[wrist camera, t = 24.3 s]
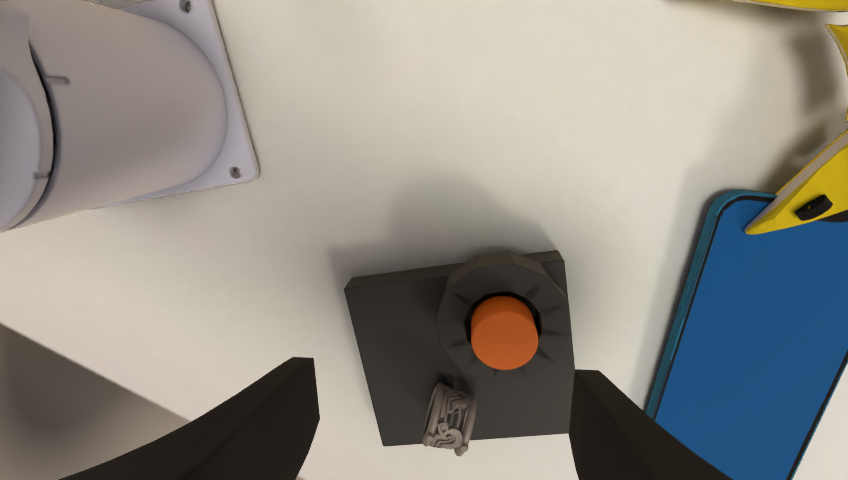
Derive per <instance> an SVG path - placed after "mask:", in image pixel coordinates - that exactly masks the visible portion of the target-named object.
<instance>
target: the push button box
mask: <svg viewBox="0 0 848 480" xmlns="http://www.w3.org/2000/svg"><path fill="white" fill-rule="evenodd" d="M344 292H345V296H346V300H347V304H348V308H349V312H350V316H351V320H352V324H353V328H354V332H355V336H356V340H357V344H358V348H359V352H360V356H361V360H362V364H363V368H364V372H365V376H366V380H367V384H368V388H369V392H370V396H371V400H372V404H373V408H374V412H375V416H376V420H377V424H378V428H379V432H380V436H381V440H382V444H383V446H397V445H411V444H423V430H424V425H425V420H426V416H427V412H428V408H429V404H430V401H431V397H432V394H433V392H434V389H435V387H436V385H437V384H438V383H440V382H441V383H443V385H445V386H447V387H451V388H453V389H455V390H459V391H463V392H465V393H467V394H468V393H469V392H474V394H475V396H476V414H475V420H474V425H473V430H472V433H471V437H470V440H481V439H495V438H509V437H523V436H537V435H551V434H565V433H569V424H570V414H571V404H572V393H573V383H574V373H575V366H574V355H573V345H572V335H571V333H572V332H571V322H570V312H569V304H568V294H567V284H566V274H565V263H564V260H563V258H562V256H561V255H560V253H559V251H557V250H556V251H549V252H541V253H534V254H526V255H518V254H516V253H513V252H509V251H505V252H498V253H491V254H483V255H476V256H475V257H473V258H471V259H470V260H469V261H467V262H466V263H459V264H452V265H444V266H437V267H430V268H422V269H415V270H407V271H400V272H392V273H385V274H377V275H370V276H362V277H355V278H351V279H350V281H349V282H348V284H347V285H346V287H345V288H344ZM494 296H510V297H513V298H516V299H518V300H520V301H522V302H523V303H524V304H525V305H526V306H527V307H528V308H529V310H530V311H531V313H532V316H533V320H534V323H535V327H536V330H537V334H538V347H537V350H536V352H535V354H534V355H533V357H532V358H531V359H530V360H529V361H528V362H527V363H526V364H524V365H522V366H520V367H518V368H515V369H509V370H501V369H496V368H492V367H490V366H488V365H486V364H485V363H483V362H482V361H481V360H480V359H479V358H478V357H477V356H476V354H475V352H474V350H473V348H472V344H471V320H472V316H473V313H474V311H475V309H476V308H477V307H478V306H479V305H480V304H481V303H482V302H483V301H485V300H486V299H489V298H491V297H494ZM451 414H452V413H451ZM451 414H450V413H448V414H447V422H448V425H449V423H450V419H451ZM440 420H442V421H444V417H443V418H440ZM457 420H458V413H455V414H454V417H453V422H452V425H451V426H455V427H456V424H457Z"/></svg>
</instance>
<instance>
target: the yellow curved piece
mask: <svg viewBox="0 0 848 480" xmlns="http://www.w3.org/2000/svg"><path fill="white" fill-rule="evenodd" d="M731 1H738V2H745V3H752V4H758V5H765V6H772V7H779V8H786V9H795V10H804V11H812V12H848V0H731ZM825 28H827V30H828V31H829V33H830V34H831V36H832V37H833V39H834V40H835V42H836V43H837V45H838V48H839V50H840V52H841V55H842V57H843V60H844V62H845V65H846V70H847V75H848V25H832V24H825ZM845 119H846V121H847V122H848V109H847V114H846V118H845ZM775 195H777V198H776V199H775V200H774V201H773V202H772V203H771V204H769V205H768V206H767V207H766V208H765V209H764V210H763V211H762V212H761V213H760V214H759V215H758V216H757V217H756V218H755V219H754V220H753V221H752V222H751V223H750V224H749V225H748V226H747V227H746V228H745V229H744V231H745V233H746V234H751V235H754V234H762V233H766V232H771V231H776V230H781V229H785V228H789V227H793V226H797V225H801V224H805V223H809V222H812V221H815V220H818V219H821V218H824V217H827V216H830V215H833V214H836V213H839V212H842V211H845V210H848V130H846V131H845V132H844V133H843V134H841V135H840V136H839V137H838V138H837V139H835V140H834V141H833V142H832V143H831V144H829V145H828V146H827V147H826V148H825V149H824V150H823V151H821V152H820V153H819V154H818V155H817V156H816V157H815V158H814V159H813V160H812V161H811V162H809V163H808V164H807V165H806V166H805V167H804V168H803V169H802V170H801V171H800V172H799V173H797V174H796V175H795V176H794V177H793V178H792V179H791V180H790V181H789V182H788V183H787V184H785V185H784V186H783V187H782V188H781V189H780V190H779V191H778V192H777V193H776V194H775Z"/></svg>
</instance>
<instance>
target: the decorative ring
mask: <svg viewBox="0 0 848 480" xmlns="http://www.w3.org/2000/svg"><path fill="white" fill-rule="evenodd" d="M448 413H450V414H451V413H452V414H451V419H450V423H449V425H448V422H447V414H448ZM455 413H458V420H457V424H456V427H455V426H451V425H452V422H453V417H454V414H455ZM475 414H476V396H475V394H474V392H469V393H468V394H467V393H465V392H463V391H459V390H455V389H453V388H451V387H447V386H445V385H443V383H441V382H440V383H438V384H437V385H436V387H435V389H434V392H433V394H432V397H431V401H430V404H429V408H428V412H427V416H426V420H425V425H424V430H423V445H424V446H426V447H427V446H429V445H430V446H432V447H437V448H446V449H453V448H454V451H455V454H456V455H457V456H461V455H462V454H463V453H464V452H466V451H467V450H468V443H469V440H470V437H471V433H472V430H473V425H474V420H475ZM443 417H444V421H442V420H440V418H443Z"/></svg>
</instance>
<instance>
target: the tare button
mask: <svg viewBox="0 0 848 480" xmlns="http://www.w3.org/2000/svg"><path fill="white" fill-rule="evenodd" d="M471 344H472V348H473V350H474V352H475V354H476V356H477V357H478V358H479V359H480V360H481V361H482V362H483V363H485V364H486V365H488V366H490V367H492V368H496V369H501V370H509V369H515V368H518V367H520V366H522V365H524V364H526V363H527V362H528V361H529V360H530V359H531V358H532V357H533V355H534V354H535V352H536V350H537V347H538V334H537V330H536V327H535V323H534V320H533V316H532V313H531V311H530V310H529V308H528V307H527V306H526V305H525V304H524V303H523V302H522V301H520V300H518V299H516V298H513V297H510V296H494V297H491V298H489V299H486V300H485V301H483V302H482V303H481V304H480V305H479V306H478V307H477V308H476V309H475V311H474V313H473V316H472V320H471Z"/></svg>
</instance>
